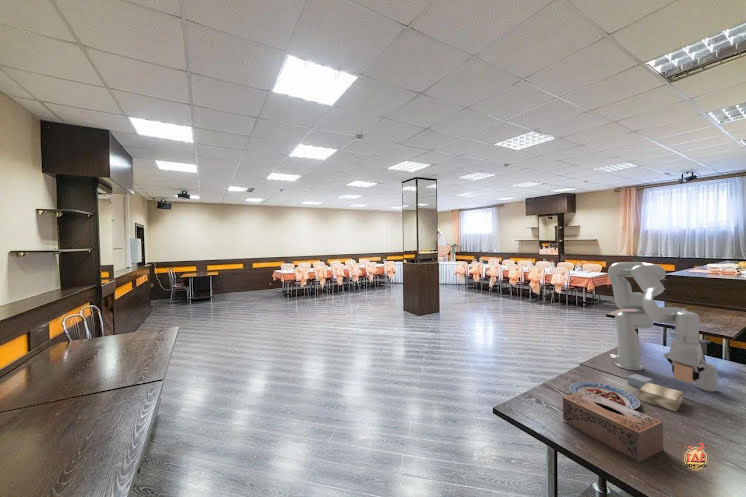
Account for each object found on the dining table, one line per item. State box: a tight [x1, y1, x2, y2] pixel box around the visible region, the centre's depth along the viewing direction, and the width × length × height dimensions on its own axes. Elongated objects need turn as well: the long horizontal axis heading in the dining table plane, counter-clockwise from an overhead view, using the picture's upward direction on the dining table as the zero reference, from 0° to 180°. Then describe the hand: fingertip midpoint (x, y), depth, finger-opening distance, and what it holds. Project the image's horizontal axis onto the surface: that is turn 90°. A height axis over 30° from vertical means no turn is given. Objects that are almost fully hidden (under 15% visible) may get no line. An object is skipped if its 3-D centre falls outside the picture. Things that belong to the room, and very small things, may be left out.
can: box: [694, 362, 719, 393], centre depth 146 cm, size 8×8×12 cm
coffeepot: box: [698, 338, 719, 363], centre depth 171 cm, size 15×9×18 cm, turn 37°
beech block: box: [638, 382, 684, 412], centre depth 136 cm, size 12×12×5 cm
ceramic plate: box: [569, 381, 641, 410], centre depth 139 cm, size 26×26×3 cm
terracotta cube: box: [673, 362, 695, 384], centre depth 139 cm, size 6×6×7 cm
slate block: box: [627, 373, 654, 389], centre depth 151 cm, size 7×7×4 cm
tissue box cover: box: [562, 390, 664, 463], centre depth 113 cm, size 26×14×10 cm, turn 23°
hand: (685, 376), depth 139 cm, fingers closed on terracotta cube, 6 cm apart
